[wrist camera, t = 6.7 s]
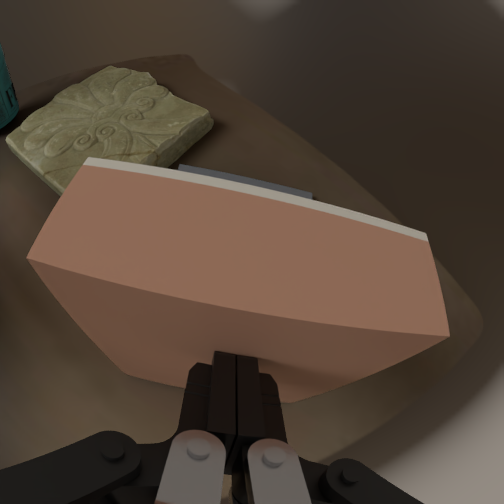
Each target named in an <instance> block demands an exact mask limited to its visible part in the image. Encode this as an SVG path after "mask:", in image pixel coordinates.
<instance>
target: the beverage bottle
mask: <svg viewBox="0 0 504 504" xmlns="http://www.w3.org/2000/svg"><path fill="white" fill-rule="evenodd" d="M9 74H10V73H9V72H8V69H7V66H6V63H5V58H4V55H3V51H2V48H1V44H0V129H1V128H2V127H4V126H5V125H7V124H8V123H9V122H10V121H11V120H12V119H13V118H14V117H15V116H16V114H17V113H18V110H19V105H18V101H17V98H16V94H15V90H14V87H13V83H11V79H10V76H9Z"/></svg>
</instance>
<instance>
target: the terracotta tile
mask: <svg viewBox="0 0 504 504" xmlns="http://www.w3.org/2000/svg"><path fill="white" fill-rule="evenodd" d="M26 258H27V260H28V261H29V263H30V264H31V266H32V267H33V268H34V270H35V271H36V273H37V274H38V275H39V277H40V278H41V280H42V281H43V282H44V284H45V285H46V286H47V288H48V289H49V290H50V292H51V293H52V294H53V295H54V297H55V298H56V299H57V300H58V302H59V303H60V304H61V305H62V307H63V308H64V309H65V310H66V311H67V313H68V314H69V315H70V316H71V317H72V319H73V320H74V321H75V322H76V323H77V324H78V326H79V327H80V328H81V329H82V330H83V331H84V332H85V333H86V334H87V336H88V337H89V338H90V339H91V340H92V341H93V342H94V343H95V344H96V345H97V346H98V347H99V348H100V349H101V350H102V352H103V353H104V354H105V355H106V356H107V357H108V358H109V359H110V360H111V361H112V362H113V363H114V364H115V365H116V366H117V367H119V368H120V369H121V370H122V371H123V372H124V373H125V374H127V375H130V376H134V377H138V378H142V379H145V380H149V381H154V382H158V383H162V384H166V385H171V386H176V387H180V388H186V383H187V378H188V373H189V370H190V369H191V368H192V367H193V366H194V365H195V364H196V363H197V362H200V363H205V364H210V365H211V364H212V359H213V354H214V351H218V352H224V353H229V354H235V357H236V355H241V356H248V357H254V358H257V359H258V366H259V373H267V374H270V375H271V376H272V378H273V379H274V380H275V382H276V383H277V386H278V391H279V398H280V402H287V403H293V402H297V401H300V400H303V399H306V398H310V397H313V396H316V395H319V394H322V393H325V392H327V391H330V390H333V389H336V388H339V387H341V386H344V385H347V384H349V383H352V382H355V381H357V380H360V379H362V378H365V377H367V376H369V375H372V374H374V373H377V372H379V371H381V370H384V369H386V368H388V367H390V366H393V365H395V364H397V363H399V362H401V361H403V360H405V359H408V358H410V357H412V356H414V355H416V354H418V353H420V352H422V351H424V350H426V349H428V348H429V347H431V346H433V345H435V344H437V343H439V342H441V341H443V340H444V339H446V338H448V337H450V333H449V326H448V321H447V315H446V310H445V305H444V300H443V296H442V291H441V287H440V282H439V278H438V274H437V270H436V267H435V263H434V259H433V255H432V252H431V249H430V245H429V242H428V238H427V235H426V233H423V232H420V231H417V230H414V229H411V228H408V227H405V226H402V225H399V224H395V223H392V222H389V221H386V220H382V219H379V218H376V217H372V216H369V215H366V214H362V213H359V212H355V211H352V210H348V209H345V208H341V207H337V206H334V205H330V204H326V203H323V202H319V201H315V200H311V199H307V198H303V197H299V196H295V195H291V194H287V193H283V192H279V191H274V190H270V189H266V188H262V187H257V186H253V185H248V184H244V183H239V182H234V181H230V180H225V179H220V178H215V177H210V176H205V175H200V174H194V173H189V172H183V171H178V170H172V169H166V168H161V167H155V166H148V165H142V164H136V163H129V162H122V161H115V160H108V159H100V158H92V157H88V158H87V159H86V161H85V162H84V164H83V165H82V166H81V168H80V169H79V170H78V172H77V173H76V175H75V176H74V178H73V179H72V181H71V182H70V184H69V185H68V186H67V188H66V190H65V191H64V193H63V194H62V196H61V197H60V199H59V200H58V202H57V204H56V205H55V207H54V208H53V210H52V212H51V213H50V215H49V217H48V218H47V220H46V222H45V224H44V225H43V227H42V229H41V231H40V233H39V234H38V236H37V238H36V240H35V242H34V244H33V246H32V248H31V249H30V251H29V253H28V255H27V257H26Z"/></svg>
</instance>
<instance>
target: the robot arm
mask: <svg viewBox="0 0 504 504" xmlns="http://www.w3.org/2000/svg"><path fill="white" fill-rule="evenodd" d="M280 406H281V403H280V398H279V391H278V386H277V383H276V382H275V380H274V379H273V378H272V376H271V375H270V374H267V373H259V366H258V359H257V358H254V357H248V356H241V355H236V357H235V354H229V353H224V352H218V351H214V354H213V359H212V364H211V365H210V364H205V363H200V362H197V363H196V364H195V365H194V366H193V367H192V368H191V369H190V370H189V373H188V378H187V383H186V388H185V393H184V398H183V404H182V409H181V414H180V420H179V425H178V429H177V431H176V433H175V434H174V435H173V436H172V437H171V438H170V439H168V440H166V441H164V442H161V443H155V444H136V442H135V441H134V440H133V439H132V438H130V437H129V436H127V435H125V434H123V433H120V432H117V431H102V432H99V433H96V434H94V435H92V436H89V437H87V438H85V439H83V440H80V441H78V442H75V443H73V444H71V445H68V446H66V447H63V448H61V449H58V450H56V451H53V452H51V453H48V454H45V455H43V456H40V457H37V458H35V459H32V460H29V461H26V462H23V463H20V464H17V465H14V466H11V467H8V468H5V469H2V470H0V504H220V500H221V492H222V483H223V475H224V474H228V475H232V486H231V488H230V490H229V504H423V503H422V502H420V501H418V500H417V499H415V498H414V497H412V496H410V495H409V494H407V493H406V492H404V491H402V490H401V489H399V488H398V487H396V486H395V485H393V484H391V483H390V482H388V481H387V480H385V479H384V478H382V477H381V476H379V475H378V474H376V473H375V472H374V471H372V470H370V469H369V468H368V467H366V466H365V465H363V464H362V463H360V462H359V461H356V460H353V459H348V458H344V459H338V460H336V461H334V462H333V463H331V464H330V466H327V465H323V464H319V463H315V462H311V461H308V460H305V459H303V458H301V457H299V456H298V455H297V453H296V452H295V450H294V449H293V448H292V447H291V446H290V445H288V443H287V438H286V432H285V427H284V421H283V415H282V409H281V407H280Z"/></svg>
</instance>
